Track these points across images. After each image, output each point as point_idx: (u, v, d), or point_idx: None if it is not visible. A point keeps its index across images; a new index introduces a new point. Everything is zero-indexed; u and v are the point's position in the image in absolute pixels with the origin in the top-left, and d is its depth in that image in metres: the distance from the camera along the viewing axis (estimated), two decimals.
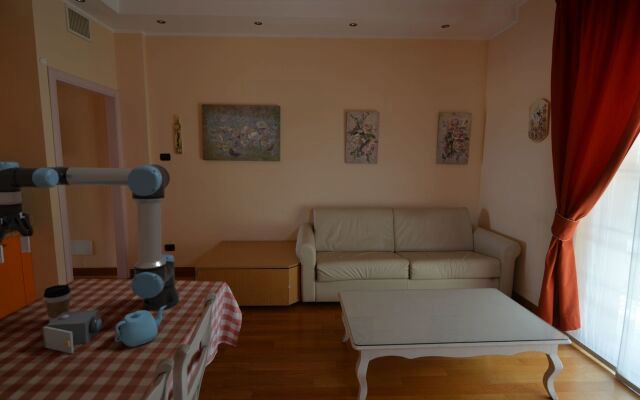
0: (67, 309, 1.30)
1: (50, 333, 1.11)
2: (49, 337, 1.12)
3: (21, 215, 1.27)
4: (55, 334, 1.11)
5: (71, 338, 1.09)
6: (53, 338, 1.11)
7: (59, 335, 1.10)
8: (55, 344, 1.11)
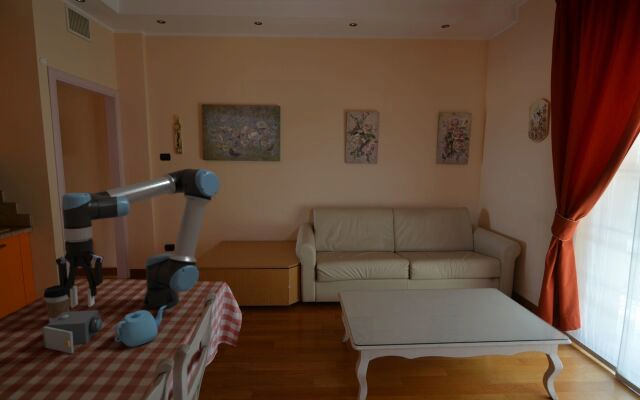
0: (67, 309, 1.30)
1: (50, 333, 1.11)
2: (49, 337, 1.12)
3: (95, 258, 1.08)
4: (55, 334, 1.11)
5: (71, 338, 1.09)
6: (53, 338, 1.11)
7: (59, 335, 1.10)
8: (55, 344, 1.11)
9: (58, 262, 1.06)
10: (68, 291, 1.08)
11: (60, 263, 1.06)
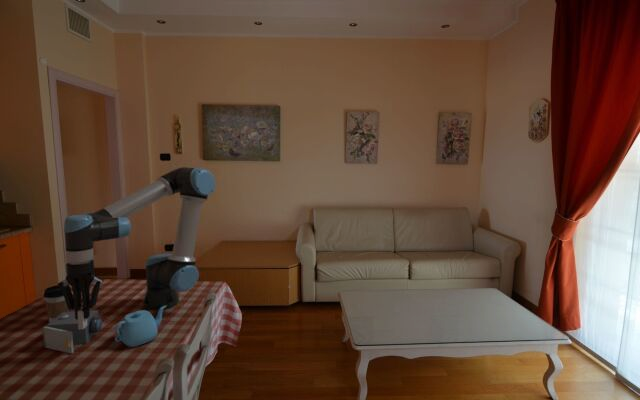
0: (67, 309, 1.30)
1: (50, 333, 1.11)
2: (49, 337, 1.12)
3: (95, 281, 1.09)
4: (55, 334, 1.11)
5: (71, 338, 1.09)
6: (53, 338, 1.11)
7: (59, 335, 1.10)
8: (55, 344, 1.11)
9: (61, 285, 1.07)
10: (76, 313, 1.09)
11: (63, 286, 1.07)
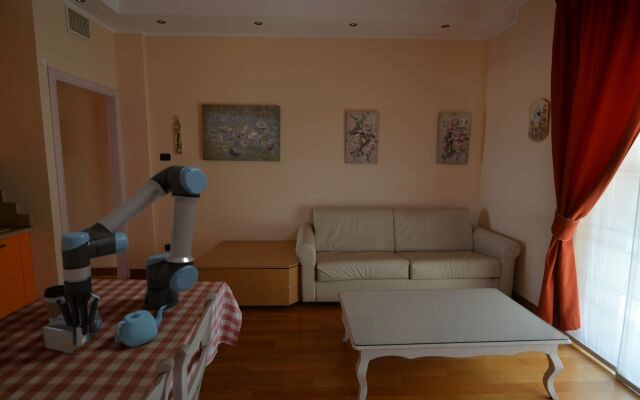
0: None
1: (50, 333, 1.11)
2: (49, 337, 1.12)
3: (93, 298, 1.10)
4: (55, 334, 1.11)
5: (71, 338, 1.09)
6: (53, 338, 1.11)
7: (59, 335, 1.10)
8: (55, 344, 1.11)
9: (59, 303, 1.07)
10: (74, 329, 1.10)
11: (61, 303, 1.07)
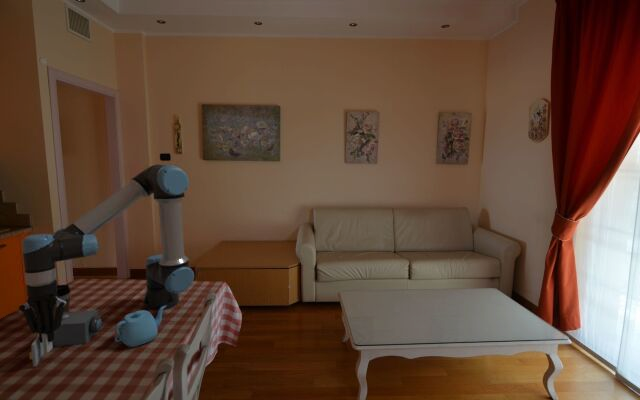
0: (67, 309, 1.30)
1: None
2: None
3: (59, 302, 1.05)
4: None
5: (33, 351, 1.02)
6: None
7: None
8: None
9: (22, 309, 1.03)
10: (40, 336, 1.05)
11: (24, 309, 1.03)
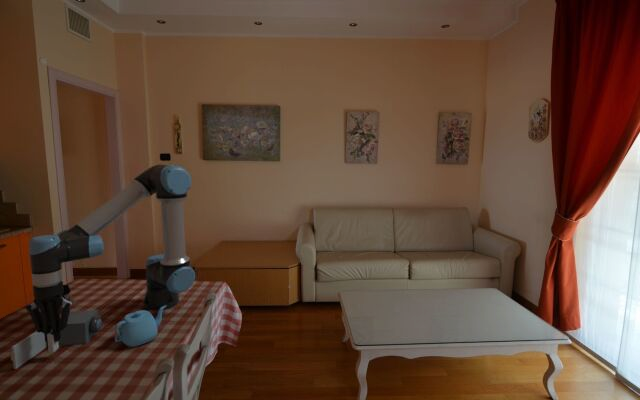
0: None
1: None
2: None
3: (65, 303, 1.06)
4: None
5: (13, 353, 1.00)
6: None
7: None
8: None
9: (28, 308, 1.03)
10: (46, 336, 1.06)
11: (31, 309, 1.03)
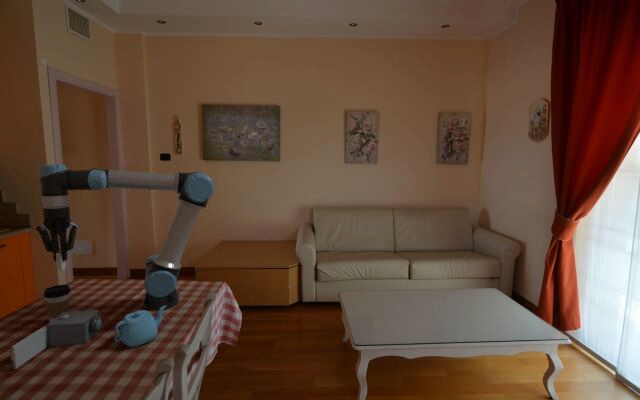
0: (67, 309, 1.30)
1: None
2: None
3: (72, 226, 1.18)
4: None
5: (13, 353, 1.00)
6: None
7: None
8: None
9: (39, 229, 1.15)
10: (54, 255, 1.18)
11: (41, 230, 1.16)
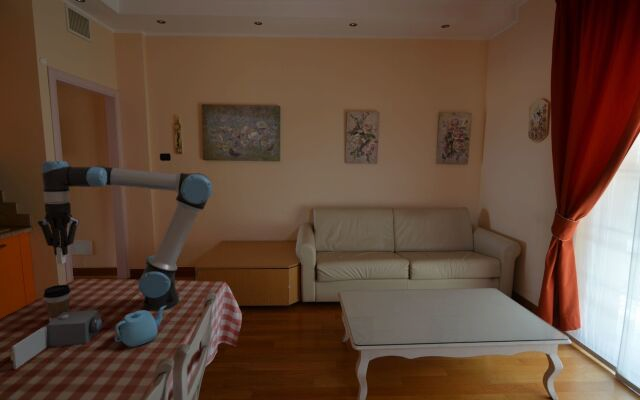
0: (67, 309, 1.30)
1: None
2: None
3: (72, 221, 1.21)
4: None
5: (13, 353, 1.00)
6: None
7: None
8: None
9: (40, 224, 1.19)
10: (55, 249, 1.21)
11: (42, 224, 1.19)
